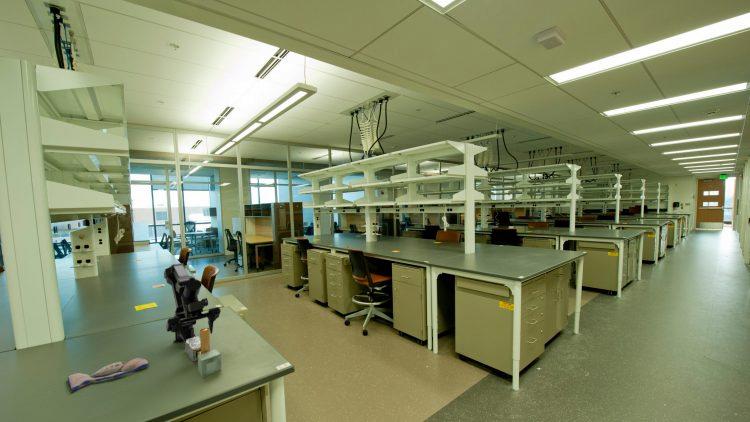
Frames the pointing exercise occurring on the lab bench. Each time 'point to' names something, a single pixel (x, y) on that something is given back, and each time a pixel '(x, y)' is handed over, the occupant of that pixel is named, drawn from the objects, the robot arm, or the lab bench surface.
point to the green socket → (209, 363)
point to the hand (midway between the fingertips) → (198, 337)
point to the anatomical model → (107, 372)
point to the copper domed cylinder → (204, 342)
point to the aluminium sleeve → (192, 347)
